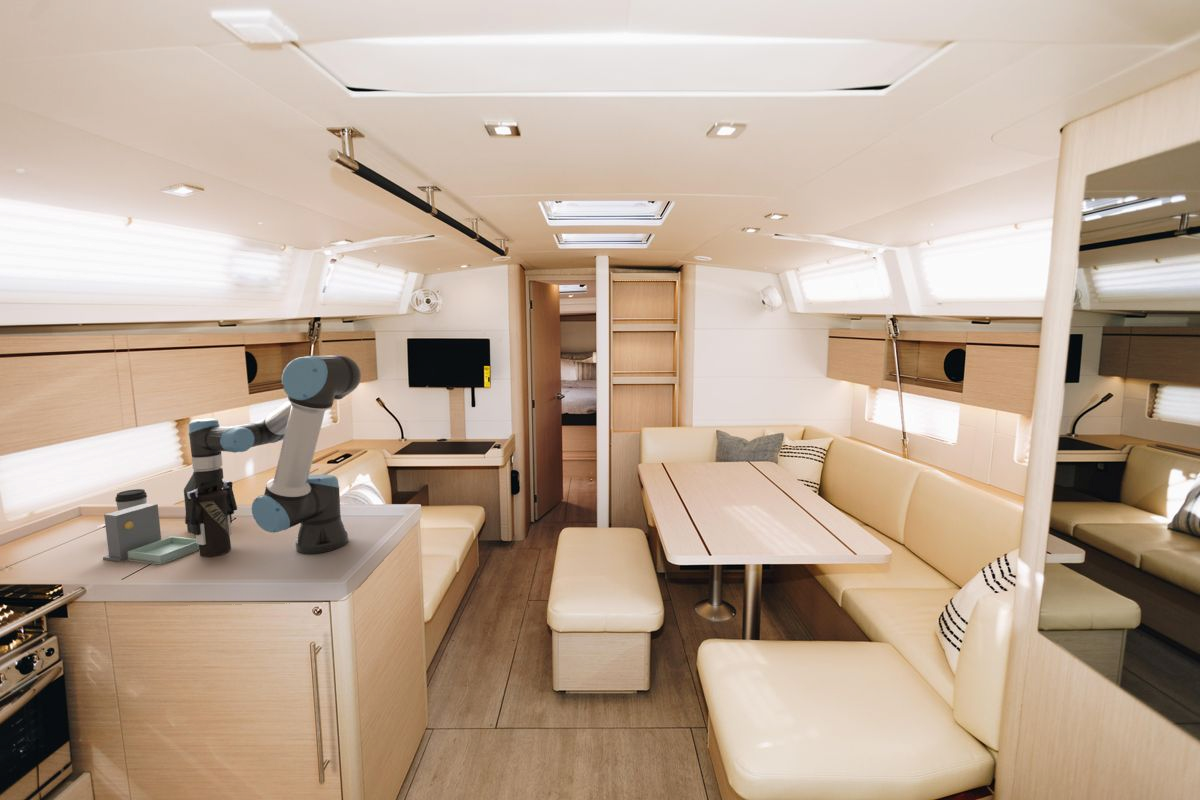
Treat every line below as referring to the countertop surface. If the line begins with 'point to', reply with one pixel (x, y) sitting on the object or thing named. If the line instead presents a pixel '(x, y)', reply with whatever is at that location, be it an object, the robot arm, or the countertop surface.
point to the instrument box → (131, 530)
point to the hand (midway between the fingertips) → (214, 539)
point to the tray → (164, 550)
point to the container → (214, 523)
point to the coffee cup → (130, 498)
